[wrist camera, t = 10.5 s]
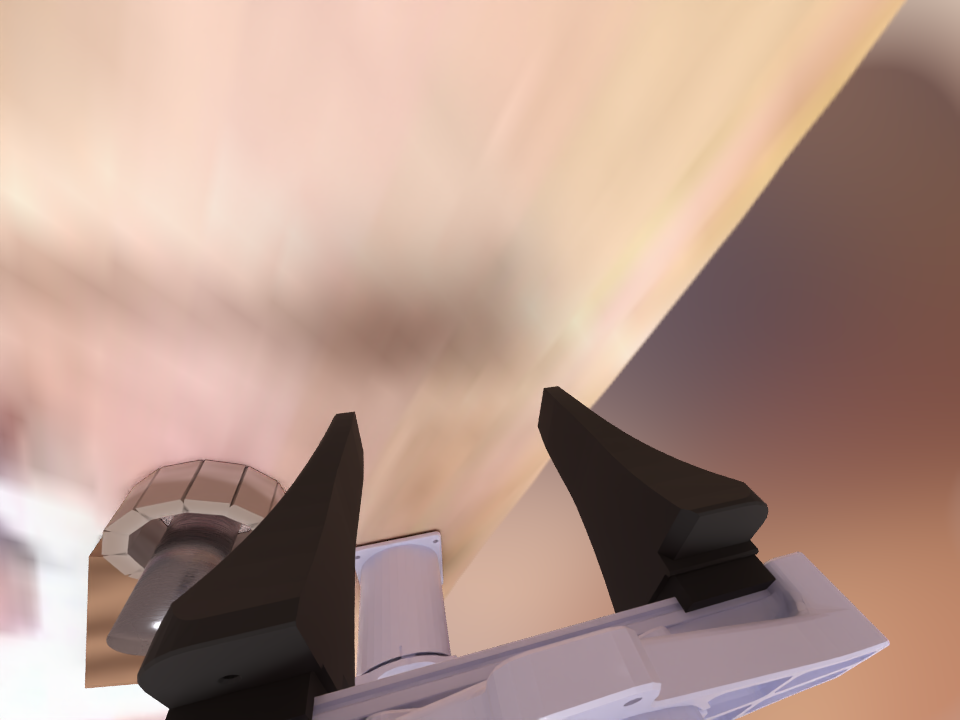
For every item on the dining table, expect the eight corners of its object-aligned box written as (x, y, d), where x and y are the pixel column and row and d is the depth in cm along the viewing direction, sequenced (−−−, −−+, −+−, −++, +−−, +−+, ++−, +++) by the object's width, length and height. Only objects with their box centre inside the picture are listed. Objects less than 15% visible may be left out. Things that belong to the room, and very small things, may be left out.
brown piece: (245, 657, 37) (236, 693, 35) (96, 667, 32) (72, 711, 30) (320, 475, 26) (314, 511, 24) (108, 447, 21) (72, 488, 19)
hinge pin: (254, 518, 27) (211, 644, 20) (195, 528, 26) (130, 662, 20) (235, 484, 25) (180, 612, 18) (170, 494, 24) (88, 631, 17)
